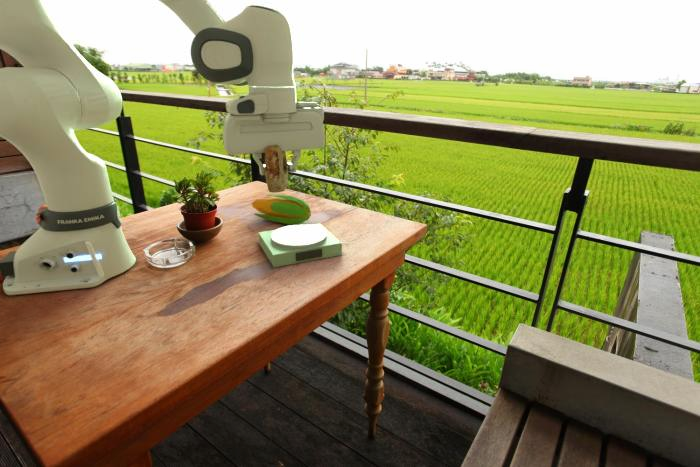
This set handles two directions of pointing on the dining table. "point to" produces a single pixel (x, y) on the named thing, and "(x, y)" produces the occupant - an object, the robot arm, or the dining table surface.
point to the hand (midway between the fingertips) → (278, 173)
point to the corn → (283, 209)
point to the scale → (299, 244)
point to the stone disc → (276, 168)
